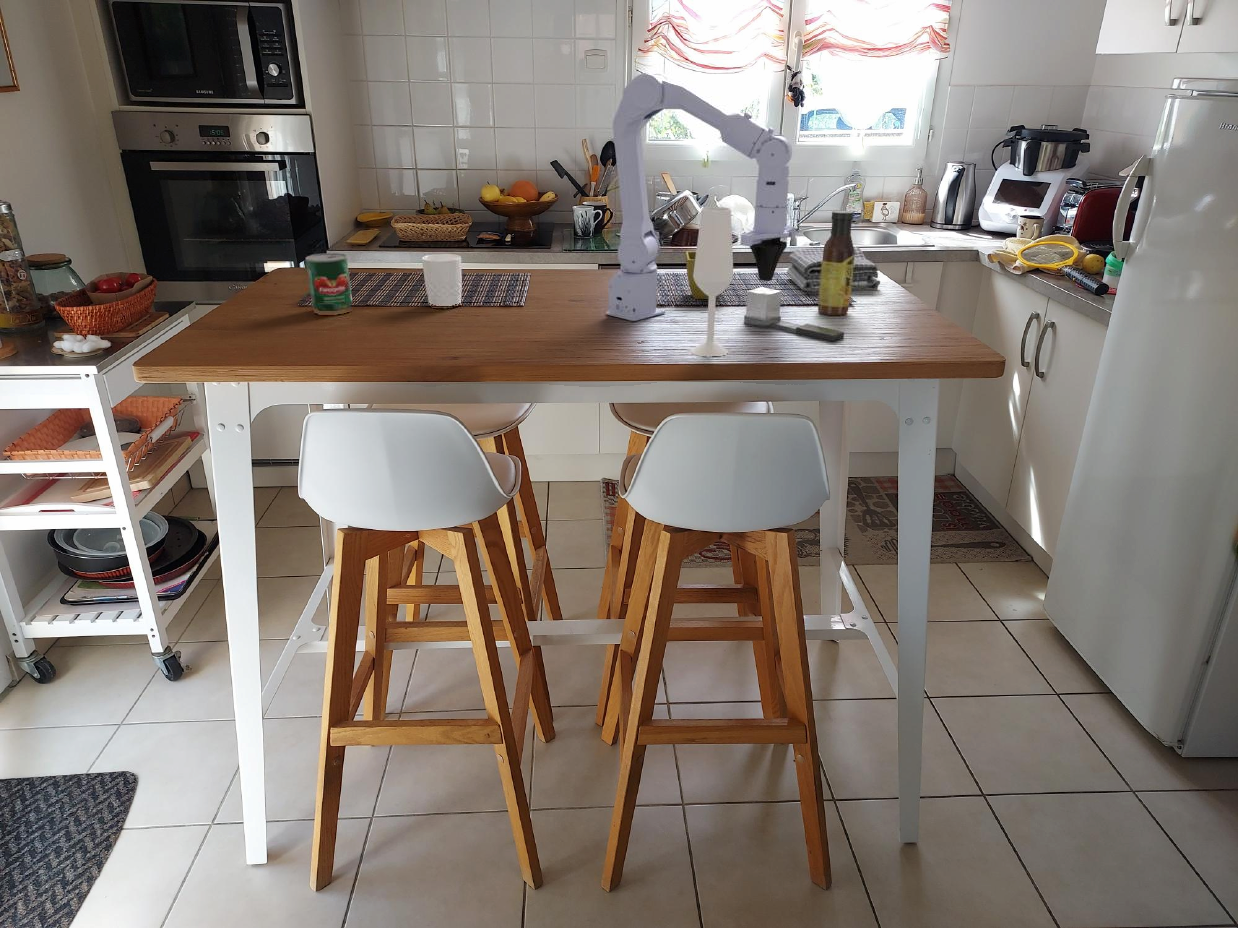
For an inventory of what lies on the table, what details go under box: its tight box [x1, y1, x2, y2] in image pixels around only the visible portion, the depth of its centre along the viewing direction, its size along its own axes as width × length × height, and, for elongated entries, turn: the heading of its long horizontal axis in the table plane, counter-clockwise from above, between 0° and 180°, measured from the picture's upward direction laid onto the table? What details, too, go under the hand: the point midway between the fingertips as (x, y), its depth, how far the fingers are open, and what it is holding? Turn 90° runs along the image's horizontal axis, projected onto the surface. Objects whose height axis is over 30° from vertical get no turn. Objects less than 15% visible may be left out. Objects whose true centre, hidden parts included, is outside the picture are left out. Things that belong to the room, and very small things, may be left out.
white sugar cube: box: [745, 287, 782, 321], centre depth 163 cm, size 5×5×5 cm
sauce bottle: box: [817, 210, 855, 316], centre depth 168 cm, size 7×6×20 cm
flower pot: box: [685, 251, 721, 300], centre depth 183 cm, size 9×9×9 cm
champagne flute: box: [690, 206, 734, 358], centre depth 142 cm, size 7×7×24 cm
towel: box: [786, 246, 881, 292], centre depth 195 cm, size 15×18×8 cm
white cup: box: [421, 253, 463, 306], centre depth 175 cm, size 8×8×10 cm
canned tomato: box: [305, 252, 353, 311], centre depth 171 cm, size 8×8×11 cm
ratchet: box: [743, 314, 845, 344], centre depth 160 cm, size 20×7×4 cm, turn 45°
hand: (765, 280), depth 161 cm, fingers closed
